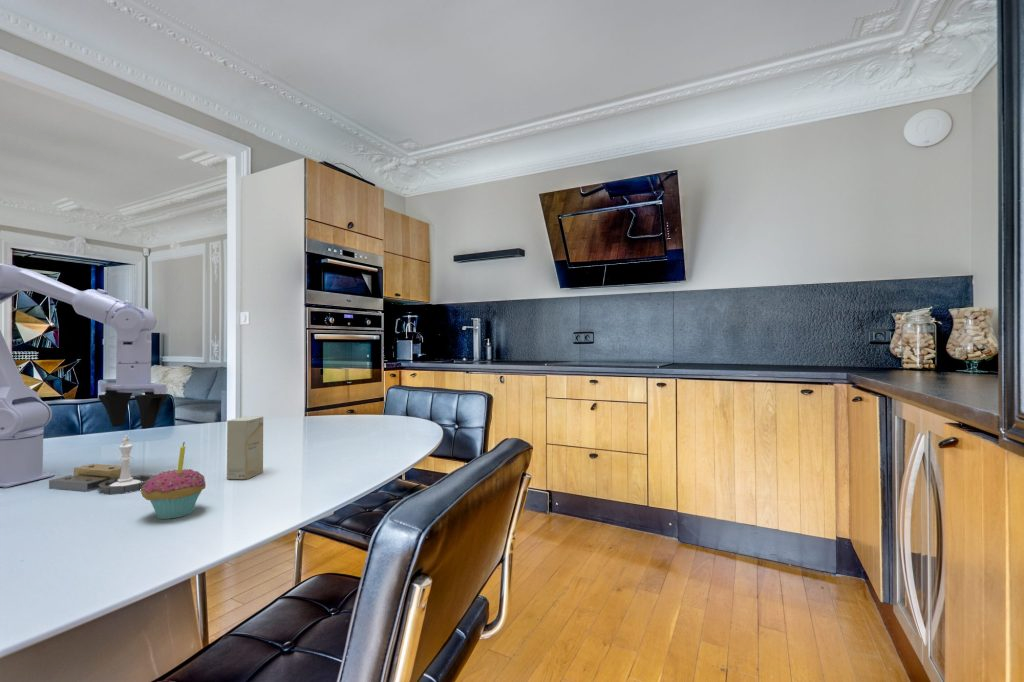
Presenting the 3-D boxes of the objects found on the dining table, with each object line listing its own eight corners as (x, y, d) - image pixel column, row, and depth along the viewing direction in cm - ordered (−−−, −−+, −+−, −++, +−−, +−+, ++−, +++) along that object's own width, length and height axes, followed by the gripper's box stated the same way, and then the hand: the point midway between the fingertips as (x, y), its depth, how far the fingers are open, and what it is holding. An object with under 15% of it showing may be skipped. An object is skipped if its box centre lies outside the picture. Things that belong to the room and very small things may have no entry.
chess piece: (147, 483, 90) (148, 432, 90) (130, 491, 85) (130, 438, 85) (120, 483, 90) (121, 433, 90) (101, 492, 85) (102, 438, 85)
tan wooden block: (73, 480, 90) (73, 467, 90) (92, 475, 94) (93, 463, 94) (110, 483, 89) (110, 470, 89) (128, 478, 92) (128, 465, 92)
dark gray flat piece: (46, 488, 86) (46, 480, 86) (93, 476, 94) (94, 468, 94) (123, 495, 83) (123, 486, 83) (165, 482, 91) (165, 474, 91)
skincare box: (246, 480, 93) (247, 420, 93) (225, 479, 93) (226, 420, 93) (264, 471, 99) (264, 415, 99) (243, 471, 99) (244, 415, 99)
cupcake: (217, 508, 77) (218, 437, 77) (165, 527, 69) (166, 448, 69) (181, 502, 80) (182, 433, 80) (127, 519, 72) (128, 443, 72)
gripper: (85, 363, 94) (84, 428, 94) (143, 364, 91) (142, 432, 91) (120, 361, 101) (119, 423, 101) (175, 363, 98) (174, 425, 98)
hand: (133, 426), depth 96 cm, fingers open, 7 cm apart
